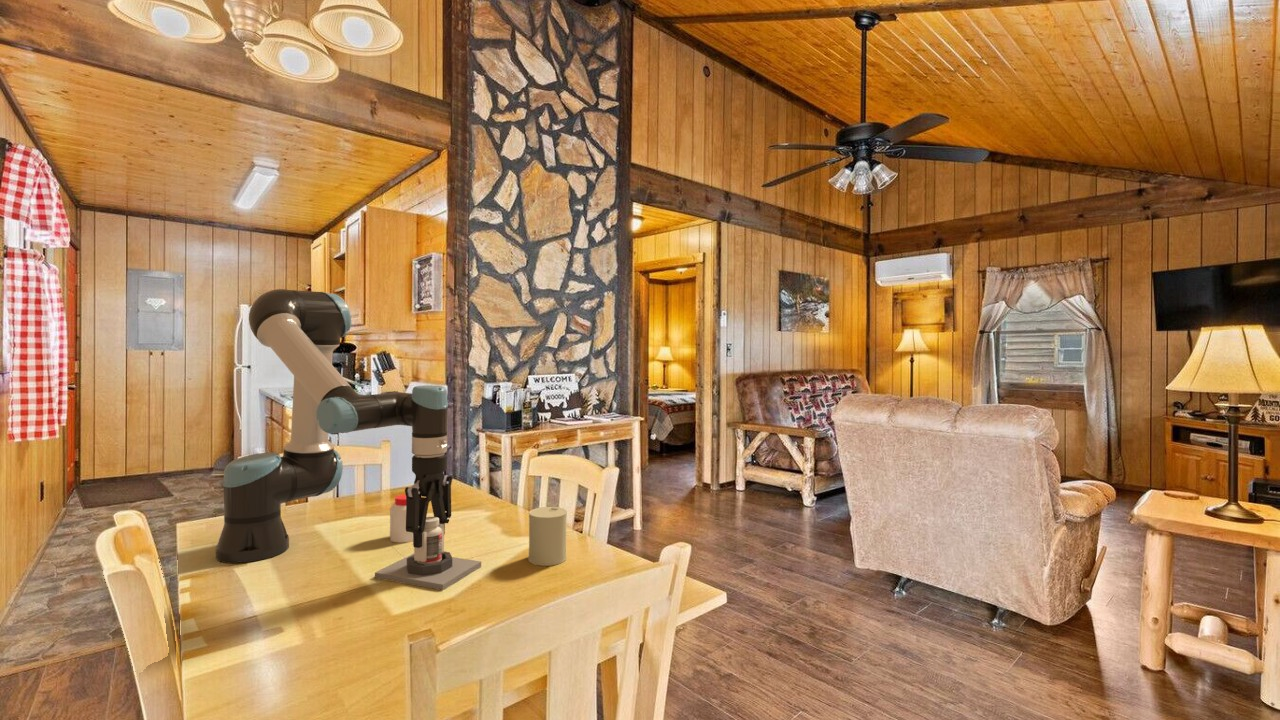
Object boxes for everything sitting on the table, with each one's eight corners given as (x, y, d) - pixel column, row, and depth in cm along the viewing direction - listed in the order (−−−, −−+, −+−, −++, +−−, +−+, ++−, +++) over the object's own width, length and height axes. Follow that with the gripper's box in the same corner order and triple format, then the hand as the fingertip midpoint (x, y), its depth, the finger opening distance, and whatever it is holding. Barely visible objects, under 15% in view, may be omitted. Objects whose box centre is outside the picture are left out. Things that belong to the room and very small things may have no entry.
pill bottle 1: (383, 540, 156) (383, 498, 156) (405, 531, 163) (405, 491, 163) (406, 544, 153) (406, 501, 153) (427, 535, 160) (427, 494, 160)
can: (573, 555, 147) (574, 507, 147) (553, 568, 139) (553, 517, 138) (542, 549, 151) (542, 502, 150) (520, 561, 142) (520, 512, 142)
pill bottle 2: (444, 563, 135) (445, 520, 134) (420, 567, 132) (420, 524, 131) (438, 555, 139) (438, 514, 139) (414, 559, 136) (414, 517, 136)
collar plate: (374, 577, 132) (374, 563, 132) (417, 556, 145) (417, 543, 145) (443, 590, 126) (443, 575, 126) (481, 566, 139) (481, 553, 139)
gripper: (415, 463, 125) (415, 573, 125) (468, 448, 142) (467, 545, 143) (386, 460, 127) (386, 568, 128) (441, 446, 144) (441, 541, 145)
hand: (429, 555), depth 135 cm, fingers closed on pill bottle 2, 5 cm apart
